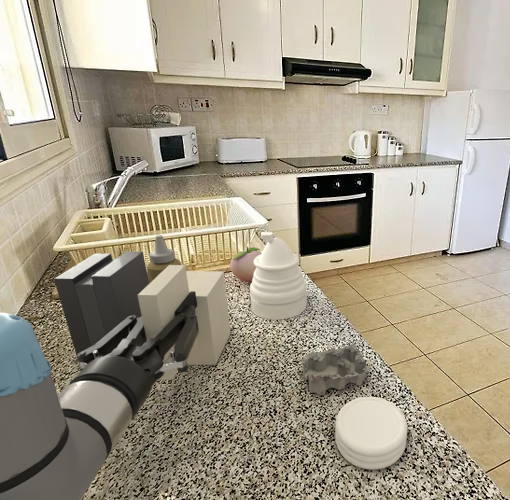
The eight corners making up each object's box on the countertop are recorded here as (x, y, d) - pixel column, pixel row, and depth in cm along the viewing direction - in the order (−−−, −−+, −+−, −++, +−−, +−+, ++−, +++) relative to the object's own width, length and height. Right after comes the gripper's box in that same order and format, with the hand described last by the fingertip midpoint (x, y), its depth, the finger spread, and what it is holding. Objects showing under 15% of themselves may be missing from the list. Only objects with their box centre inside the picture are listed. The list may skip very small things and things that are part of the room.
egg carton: (310, 399, 60) (309, 379, 58) (299, 369, 67) (299, 350, 65) (371, 384, 63) (372, 365, 62) (355, 358, 70) (356, 339, 68)
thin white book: (155, 379, 54) (137, 295, 49) (181, 339, 64) (169, 264, 59) (172, 379, 55) (156, 295, 49) (196, 339, 64) (185, 265, 59)
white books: (175, 364, 67) (162, 296, 62) (195, 333, 76) (185, 270, 71) (215, 365, 67) (206, 296, 62) (230, 333, 76) (224, 271, 71)
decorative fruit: (253, 292, 93) (251, 255, 89) (226, 286, 96) (222, 250, 92) (274, 277, 101) (272, 243, 98) (248, 272, 104) (245, 238, 100)
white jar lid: (364, 486, 46) (365, 466, 45) (321, 432, 54) (321, 413, 53) (420, 447, 52) (423, 428, 51) (375, 403, 59) (376, 385, 58)
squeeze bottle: (143, 316, 82) (127, 239, 75) (172, 299, 89) (160, 227, 82) (171, 324, 79) (157, 245, 72) (199, 307, 86) (188, 233, 79)
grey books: (78, 364, 66) (52, 275, 60) (113, 330, 77) (94, 250, 70) (130, 364, 67) (109, 276, 60) (158, 330, 77) (143, 251, 70)
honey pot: (257, 324, 80) (251, 245, 73) (246, 297, 90) (240, 227, 84) (314, 313, 85) (313, 238, 78) (298, 288, 95) (296, 221, 89)
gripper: (33, 432, 41) (140, 318, 63) (178, 431, 41) (233, 318, 63) (12, 377, 38) (131, 277, 60) (167, 376, 39) (229, 278, 60)
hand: (184, 298), depth 61 cm, fingers closed on thin white book, 2 cm apart
